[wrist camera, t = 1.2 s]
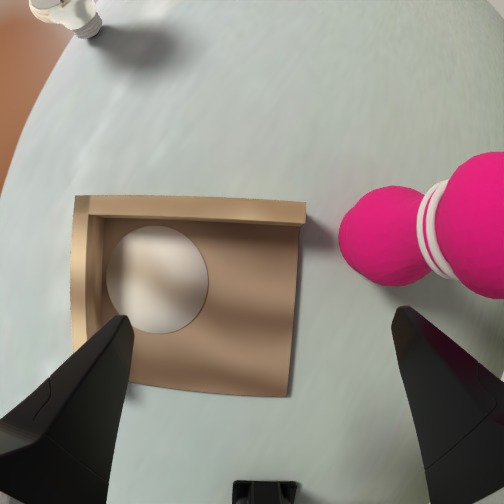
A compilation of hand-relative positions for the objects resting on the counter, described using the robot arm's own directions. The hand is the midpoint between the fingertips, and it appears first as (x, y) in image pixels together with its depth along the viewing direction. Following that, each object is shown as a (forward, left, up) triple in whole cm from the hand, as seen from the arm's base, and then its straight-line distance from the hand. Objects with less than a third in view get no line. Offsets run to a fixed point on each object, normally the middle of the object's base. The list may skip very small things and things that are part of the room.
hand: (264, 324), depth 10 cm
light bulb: (+26, +20, -16) cm, 36 cm away
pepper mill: (+4, -9, -16) cm, 19 cm away
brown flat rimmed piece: (-2, +6, -16) cm, 17 cm away
